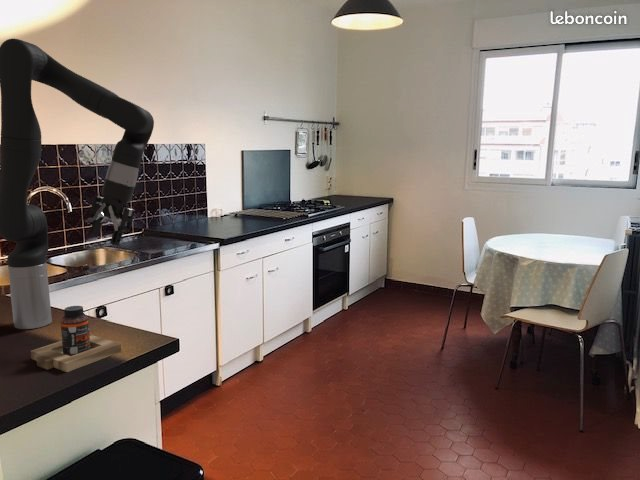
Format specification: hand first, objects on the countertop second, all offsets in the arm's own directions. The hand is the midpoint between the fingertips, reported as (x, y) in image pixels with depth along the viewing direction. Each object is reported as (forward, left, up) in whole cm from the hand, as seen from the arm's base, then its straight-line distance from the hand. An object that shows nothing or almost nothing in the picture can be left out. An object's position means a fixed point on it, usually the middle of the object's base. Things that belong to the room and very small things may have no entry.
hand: (104, 239), depth 138 cm
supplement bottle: (+10, -16, -24) cm, 31 cm away
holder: (+10, -16, -24) cm, 31 cm away
